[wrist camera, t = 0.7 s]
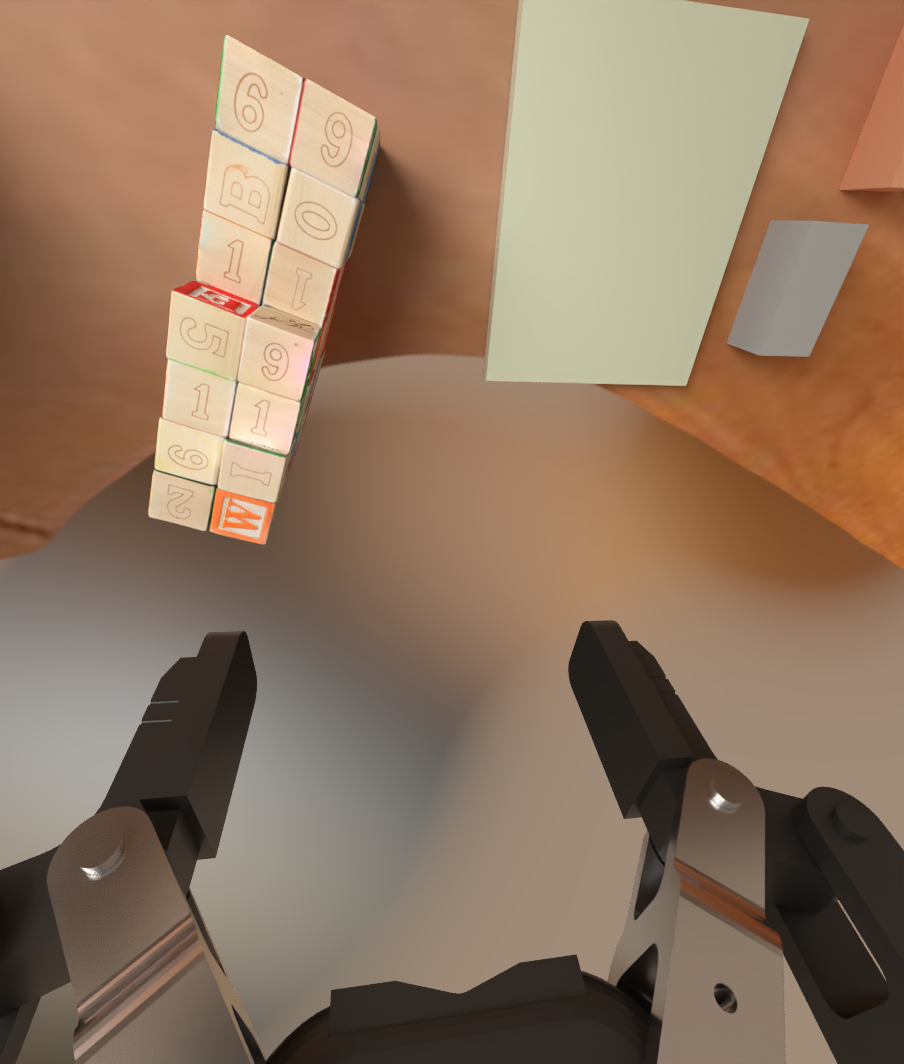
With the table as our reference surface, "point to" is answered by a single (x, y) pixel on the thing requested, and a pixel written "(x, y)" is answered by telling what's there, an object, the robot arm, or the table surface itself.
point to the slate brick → (794, 286)
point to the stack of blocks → (258, 293)
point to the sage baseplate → (626, 182)
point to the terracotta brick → (882, 135)
